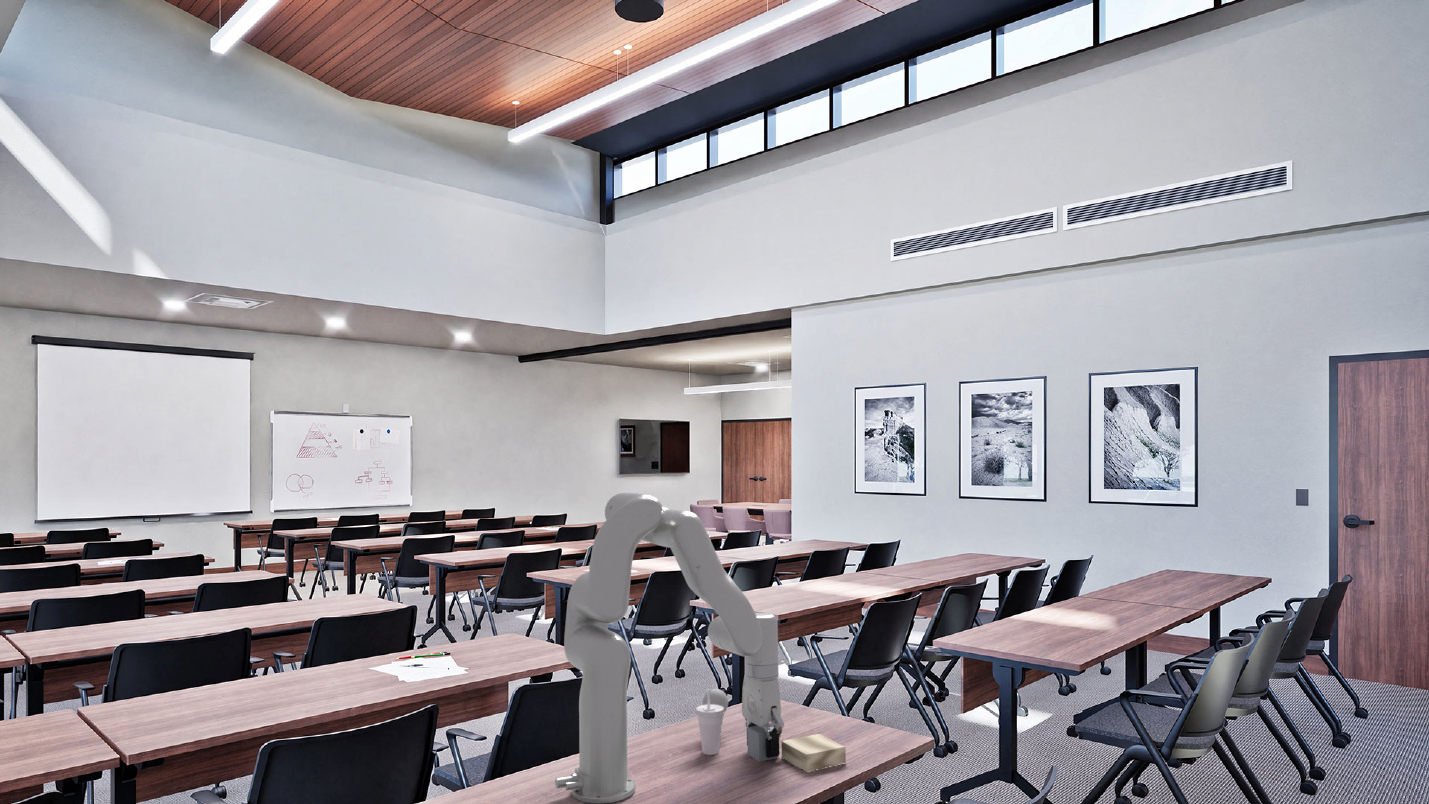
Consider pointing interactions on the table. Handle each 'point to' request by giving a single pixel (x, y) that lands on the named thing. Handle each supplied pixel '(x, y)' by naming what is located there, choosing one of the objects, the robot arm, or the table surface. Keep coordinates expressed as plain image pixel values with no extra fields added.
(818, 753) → the maple block
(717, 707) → the smoothie
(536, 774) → the table surface
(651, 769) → the table surface
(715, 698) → the lightbulb
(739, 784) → the table surface
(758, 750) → the grey block
